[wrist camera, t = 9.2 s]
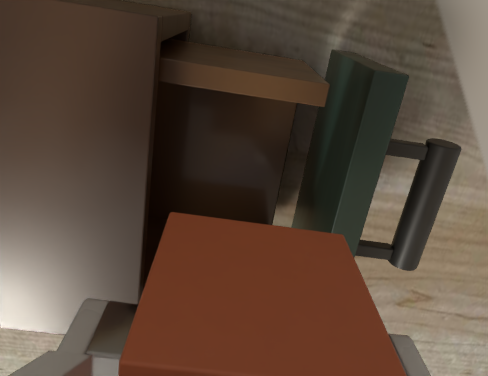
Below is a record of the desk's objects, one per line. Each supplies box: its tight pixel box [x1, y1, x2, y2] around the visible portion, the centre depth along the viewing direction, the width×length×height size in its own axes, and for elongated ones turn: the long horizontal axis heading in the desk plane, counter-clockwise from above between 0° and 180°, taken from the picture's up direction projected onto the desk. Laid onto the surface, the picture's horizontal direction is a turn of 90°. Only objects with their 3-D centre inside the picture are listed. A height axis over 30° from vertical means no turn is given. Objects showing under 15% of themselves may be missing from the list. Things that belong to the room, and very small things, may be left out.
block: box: [118, 212, 407, 376], centre depth 9 cm, size 4×4×5 cm
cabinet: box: [0, 0, 192, 335], centre depth 19 cm, size 15×13×9 cm
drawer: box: [143, 39, 461, 290], centre depth 19 cm, size 18×11×7 cm, turn 81°
